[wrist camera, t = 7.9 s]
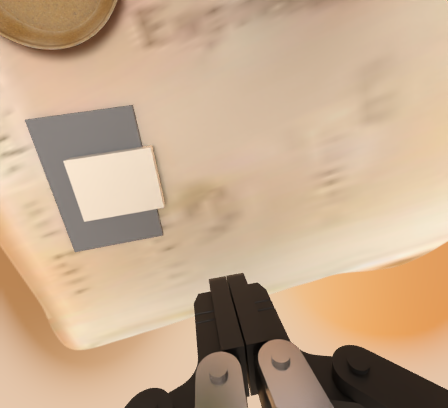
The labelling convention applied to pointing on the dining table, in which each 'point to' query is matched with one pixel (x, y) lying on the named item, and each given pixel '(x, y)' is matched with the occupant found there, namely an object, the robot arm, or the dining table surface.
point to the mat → (80, 146)
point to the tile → (115, 182)
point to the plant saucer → (53, 21)
